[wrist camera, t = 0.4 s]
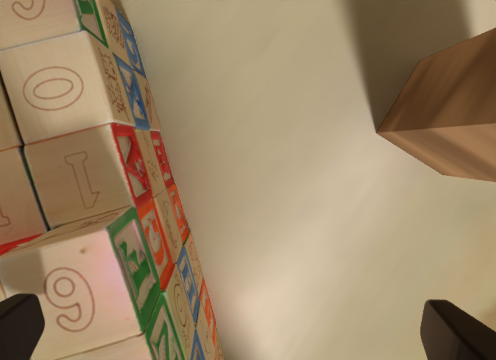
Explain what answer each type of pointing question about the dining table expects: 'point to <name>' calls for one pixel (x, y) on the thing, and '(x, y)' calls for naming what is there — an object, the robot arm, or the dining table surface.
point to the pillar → (450, 111)
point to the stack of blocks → (92, 192)
